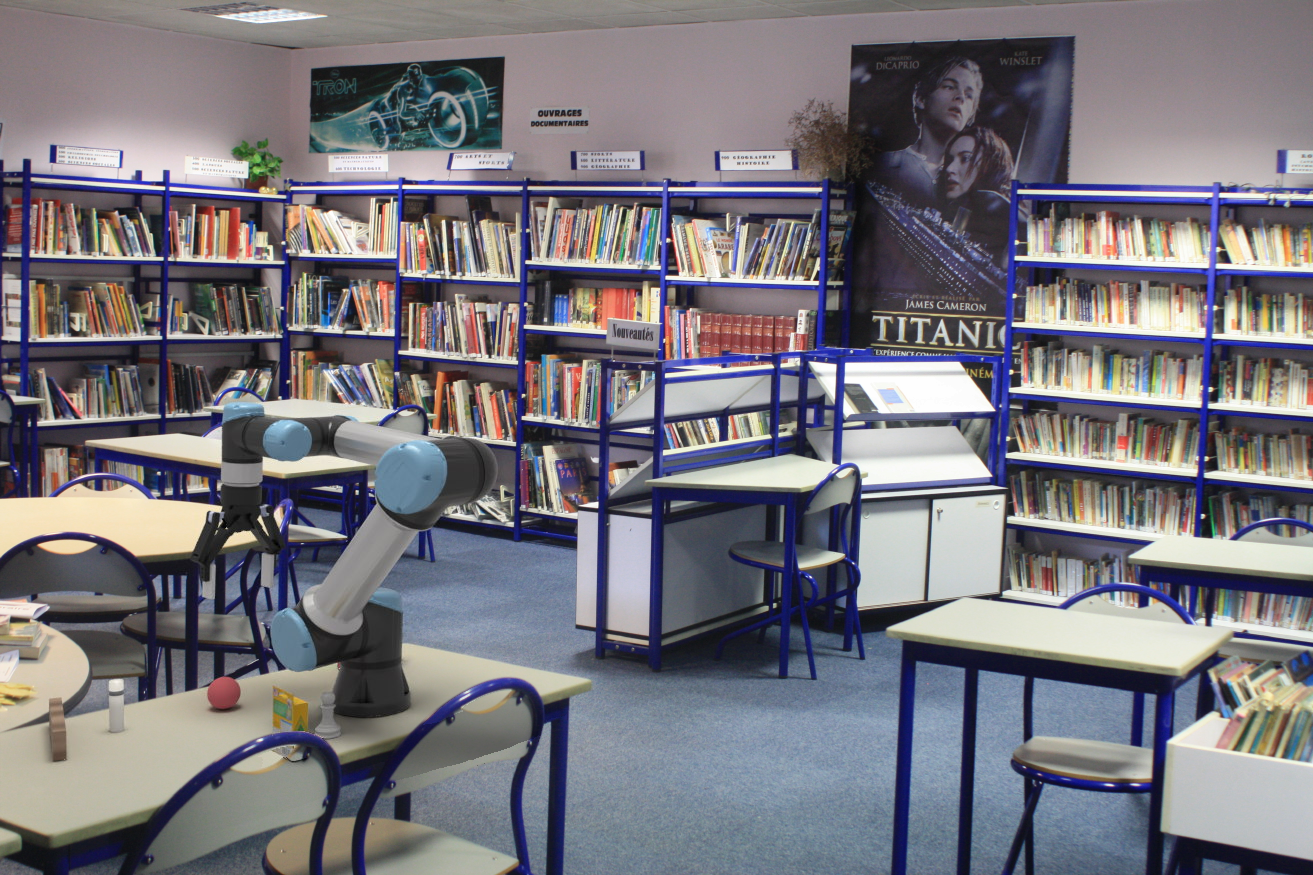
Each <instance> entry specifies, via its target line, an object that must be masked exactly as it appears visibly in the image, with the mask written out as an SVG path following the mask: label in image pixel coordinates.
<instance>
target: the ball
mask: <svg viewBox="0 0 1313 875" xmlns="http://www.w3.org/2000/svg"><path fill="white" fill-rule="evenodd" d="M241 690H242V689H241V686H240V684H239V683H238V682H237V680H235V679H234V678H232V677H230V676H221V677H218V678H216V679H214V680H213V681H212V682H211V683H210V685H209V686H208V688H207V690H206V691H207V692H206V696H207V700H208V702H209V704H210V705H211V706H212V707H214V708H216V709H218V710H226V709H230V708H232V707H234V706H235V705H236V704H237V703H238V702H239V700H240V697H241V695H242V694H241V693H242V692H241Z"/></svg>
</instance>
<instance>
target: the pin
mask: <svg viewBox="0 0 1313 875" xmlns="http://www.w3.org/2000/svg"><path fill="white" fill-rule="evenodd" d="M124 685H125V683H124V679H123V678H114V679H110V680H109V681H108V722H109V724H108V728H109V729H108V732H109V733H120V732H123V731H124V730H125V723H124V722H125V716H124V715H125V714H124V713H125V704H124V703H125V702H124V701H125V699H124V698H125V696H124V695H125V687H124Z"/></svg>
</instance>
